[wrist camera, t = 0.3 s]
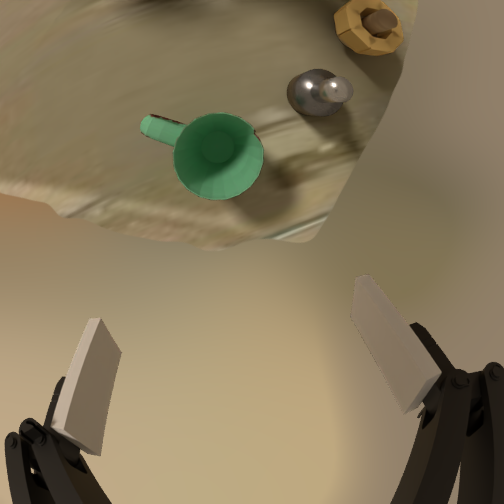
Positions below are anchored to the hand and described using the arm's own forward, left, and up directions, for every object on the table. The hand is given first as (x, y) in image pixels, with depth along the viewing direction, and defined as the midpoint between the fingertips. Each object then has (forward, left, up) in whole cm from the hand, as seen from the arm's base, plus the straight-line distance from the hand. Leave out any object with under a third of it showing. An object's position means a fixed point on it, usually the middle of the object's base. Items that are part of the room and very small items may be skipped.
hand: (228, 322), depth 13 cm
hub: (-11, +15, -29) cm, 35 cm away
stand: (-22, +24, -29) cm, 44 cm away
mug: (-6, -1, -29) cm, 30 cm away
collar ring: (-22, +24, -26) cm, 42 cm away
